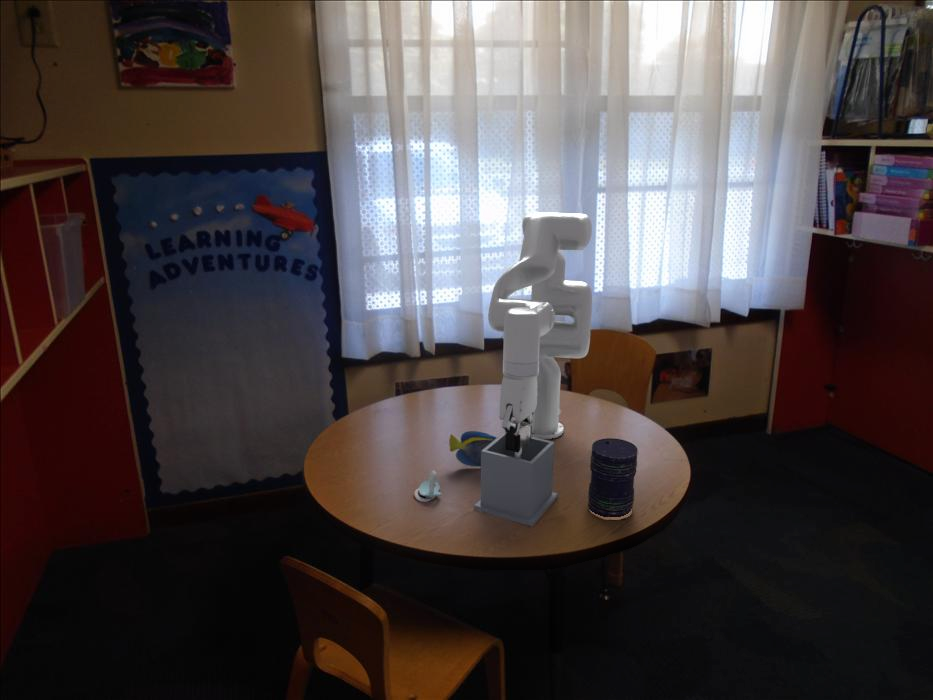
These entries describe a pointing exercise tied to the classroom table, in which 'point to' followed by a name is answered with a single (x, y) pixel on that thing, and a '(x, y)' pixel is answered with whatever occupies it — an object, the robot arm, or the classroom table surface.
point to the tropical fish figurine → (470, 446)
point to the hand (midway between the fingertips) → (518, 444)
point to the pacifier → (428, 488)
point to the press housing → (517, 480)
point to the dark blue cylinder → (612, 477)
